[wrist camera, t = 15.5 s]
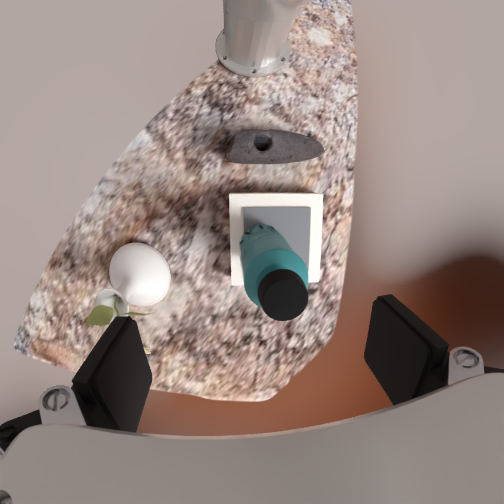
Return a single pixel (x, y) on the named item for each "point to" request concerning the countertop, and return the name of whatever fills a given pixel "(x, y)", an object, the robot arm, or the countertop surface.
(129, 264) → the flower in vase
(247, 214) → the white picture frame
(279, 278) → the beverage bottle
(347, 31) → the countertop surface
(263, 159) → the perforated stone tool
